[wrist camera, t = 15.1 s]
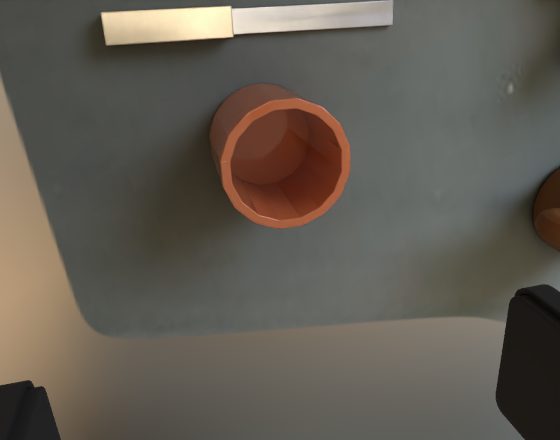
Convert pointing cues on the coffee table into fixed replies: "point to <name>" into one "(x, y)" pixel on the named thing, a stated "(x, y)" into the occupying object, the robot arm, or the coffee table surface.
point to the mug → (549, 211)
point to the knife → (237, 21)
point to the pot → (278, 155)
